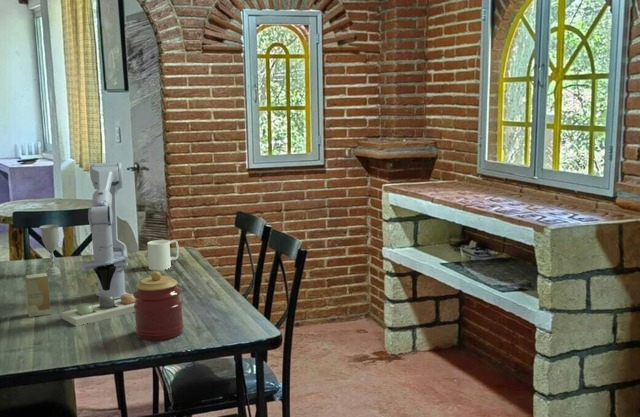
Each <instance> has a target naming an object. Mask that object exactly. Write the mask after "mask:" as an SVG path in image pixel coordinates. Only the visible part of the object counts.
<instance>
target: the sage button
mask: <svg viewBox="0 0 640 417" xmlns="http://www.w3.org/2000/svg"><path fill="white" fill-rule="evenodd" d="M92 305H93V303H90V302H88V303H87V302H86V303H81V304H77V305H76V309H77V314H78V315H80V316H82V315H87V314H91V313H93V306H92Z"/></svg>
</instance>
